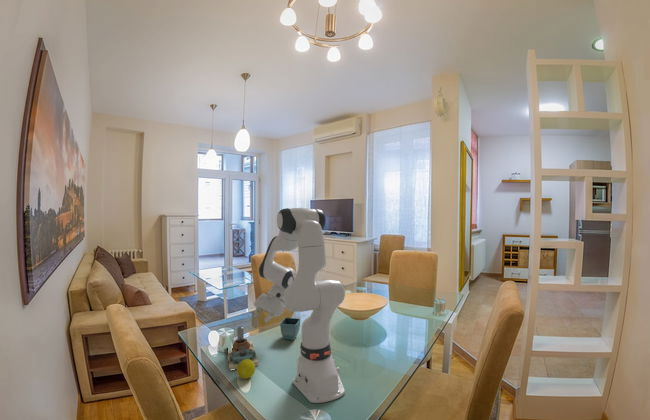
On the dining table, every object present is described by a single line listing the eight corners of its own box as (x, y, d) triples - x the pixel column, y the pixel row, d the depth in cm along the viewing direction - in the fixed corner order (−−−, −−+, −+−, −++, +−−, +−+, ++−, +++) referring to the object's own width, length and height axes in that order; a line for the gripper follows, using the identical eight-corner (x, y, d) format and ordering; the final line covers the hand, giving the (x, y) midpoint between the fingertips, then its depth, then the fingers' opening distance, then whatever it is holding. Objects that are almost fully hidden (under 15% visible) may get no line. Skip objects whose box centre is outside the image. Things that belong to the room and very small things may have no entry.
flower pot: (296, 342, 149) (295, 325, 149) (279, 341, 151) (279, 323, 151) (300, 335, 158) (300, 318, 158) (285, 333, 160) (285, 317, 159)
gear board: (258, 365, 127) (258, 351, 127) (229, 371, 123) (229, 357, 123) (251, 343, 148) (251, 331, 148) (226, 348, 143) (226, 335, 143)
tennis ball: (243, 384, 114) (243, 366, 114) (233, 377, 119) (233, 360, 118) (258, 377, 119) (258, 360, 119) (248, 370, 124) (248, 354, 124)
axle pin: (243, 349, 139) (243, 328, 139) (237, 350, 138) (237, 329, 138) (243, 346, 142) (243, 326, 142) (237, 347, 141) (237, 326, 141)
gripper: (260, 288, 161) (245, 310, 154) (284, 296, 147) (268, 321, 140) (267, 294, 164) (252, 317, 157) (291, 302, 150) (275, 327, 143)
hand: (260, 319), depth 148 cm, fingers open, 8 cm apart
